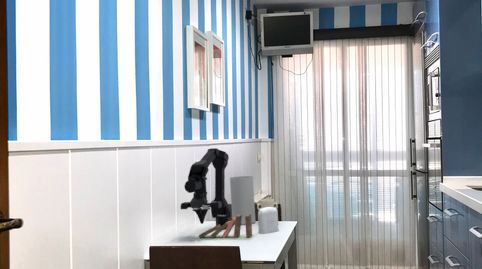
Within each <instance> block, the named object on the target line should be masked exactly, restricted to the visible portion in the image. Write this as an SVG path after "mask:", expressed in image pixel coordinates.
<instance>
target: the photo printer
mask: <svg viewBox="0 0 482 269" xmlns="http://www.w3.org/2000/svg"><path fill="white" fill-rule="evenodd" d="M274 207H275V206H274ZM274 207H265V208H262V209H260V210H258V211H257V225H258V234H260V235H261V234H262V235H265V234H271V233H275V232H279V214H278V212H279V211H278V208H277V209H276V208H274Z"/></svg>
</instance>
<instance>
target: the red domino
mask: <svg viewBox="0 0 482 269" xmlns="http://www.w3.org/2000/svg"><path fill="white" fill-rule="evenodd" d="M235 219H236V217H234V218H232V217H231V220H230V223H229V225H228V227H227V228H226V230H224V231H223V233H222V234H221V235H222V237H223V238H226V237H227V236H228V235H230V234H231V231H232V229H233V227H235Z"/></svg>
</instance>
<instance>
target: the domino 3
mask: <svg viewBox="0 0 482 269" xmlns="http://www.w3.org/2000/svg"><path fill="white" fill-rule="evenodd" d="M241 219H242V215H239V214H238V215H237V216H236V219H235V224H234V232H233V235H234V238H238V237H239V236H240V234H241V227H242V225H241Z"/></svg>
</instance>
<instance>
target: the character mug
mask: <svg viewBox="0 0 482 269" xmlns="http://www.w3.org/2000/svg"><path fill="white" fill-rule="evenodd" d="M265 207H274V208H276V209H277V210H278V208H279V205H278V202H275V200H274V199H273V198H264V199H260V203H257V204H256V209H257V210H258V211H259V210H260V209H262V208H265Z"/></svg>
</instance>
